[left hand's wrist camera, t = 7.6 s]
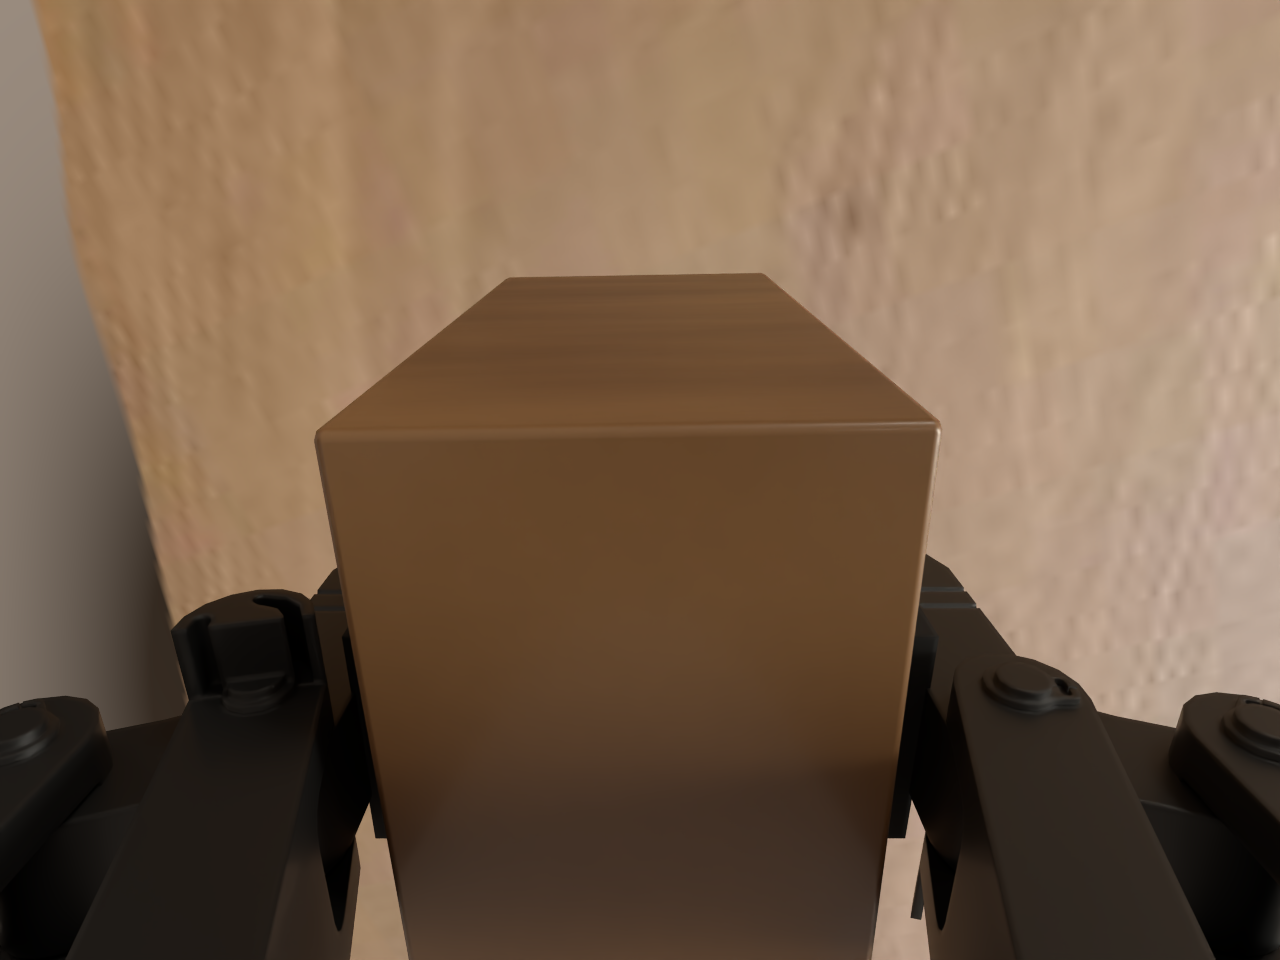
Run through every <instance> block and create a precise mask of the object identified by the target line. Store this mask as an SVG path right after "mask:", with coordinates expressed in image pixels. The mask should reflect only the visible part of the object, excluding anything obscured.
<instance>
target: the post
mask: <svg viewBox="0 0 1280 960" xmlns="http://www.w3.org/2000/svg"><path fill="white" fill-rule="evenodd" d="M941 434H942V428H941V424H940V421H939V420H938V419H936V418H935V417H934V416H933V415H932V414H930V413H929V412H928V411H927V410H926V409H925V408H923V407H922V406H921V405H920V404H919V403H917V402H916V401H915V400H914V399H913V398H911V397H910V396H909V395H908V394H907V393H905V392H904V391H903V390H902V389H901V388H899V387H898V386H897V385H896V384H895V383H893V382H892V381H891V380H890V379H889V378H888V377H886V376H885V375H884V374H883V373H882V372H880V371H879V370H878V369H877V368H876V367H874V366H873V365H872V364H871V363H870V362H868V361H867V360H866V359H865V358H864V357H862V356H861V355H860V354H859V353H858V352H857V351H855V350H854V349H853V348H852V347H851V346H849V345H848V344H847V343H846V342H845V341H843V340H842V339H841V338H840V337H839V336H837V335H836V334H835V333H834V332H833V331H831V330H830V329H829V328H828V327H827V326H826V325H824V324H823V323H822V322H821V321H820V320H818V319H817V318H816V317H815V316H814V315H812V314H811V313H810V312H809V311H808V310H806V309H805V308H804V307H803V306H802V305H800V304H799V303H798V302H797V301H796V300H795V299H793V298H792V297H791V296H790V295H789V294H787V293H786V292H785V291H784V290H783V289H781V288H780V287H779V286H778V285H777V284H775V283H774V282H773V281H772V280H771V279H769V278H768V277H767V276H766V275H764V274H762V273H744V274H687V275H630V276H573V277H517V278H508V279H506V280H504V281H503V282H502V283H501V284H499V285H498V286H497V287H496V288H495V289H493V290H492V291H491V292H490V293H488V294H487V295H486V296H485V297H483V298H482V299H481V300H480V301H478V302H477V303H476V304H475V305H473V306H472V307H471V308H470V309H468V310H467V311H466V312H465V313H463V314H462V315H461V316H460V317H458V318H457V319H456V320H455V321H453V322H452V323H451V324H450V325H448V326H447V327H446V328H445V329H443V330H442V331H441V332H440V333H438V334H437V335H436V336H435V337H433V338H432V339H431V340H430V341H428V342H427V343H426V344H425V345H423V346H422V347H421V348H420V349H418V350H417V351H416V352H415V353H413V354H412V355H411V356H410V357H408V358H407V359H406V360H405V361H403V362H402V363H401V364H400V365H398V366H397V367H396V368H395V369H393V370H392V371H391V372H390V373H388V374H387V375H386V376H385V377H383V378H382V379H381V380H380V381H378V382H377V383H376V384H375V385H373V386H372V387H371V388H370V389H368V390H367V391H366V392H365V393H363V394H362V395H361V396H360V397H358V398H357V399H356V400H355V401H353V402H352V403H351V404H350V405H348V406H347V407H346V408H345V409H343V410H342V411H341V412H340V413H338V414H337V415H336V416H335V417H333V418H332V419H331V420H330V421H328V422H327V423H326V424H325V425H323V426H322V427H321V428H320V429H318V430H317V431H316V435H315V439H314V442H315V448H316V453H317V459H318V464H319V470H320V475H321V481H322V486H323V492H324V497H325V503H326V508H327V514H328V519H329V525H330V530H331V535H332V541H333V546H334V552H335V557H336V563H337V568H338V574H339V579H340V585H341V590H342V596H343V601H344V607H345V612H346V617H347V623H348V628H349V634H350V639H351V645H352V650H353V656H354V661H355V667H356V672H357V678H358V683H359V689H360V694H361V699H362V705H363V710H364V716H365V721H366V727H367V732H368V738H369V743H370V749H371V754H372V760H373V765H374V771H375V776H376V782H377V787H378V792H379V798H380V803H381V809H382V814H383V820H384V825H385V831H386V836H387V842H388V847H389V853H390V858H391V864H392V869H393V874H394V880H395V885H396V891H397V896H398V902H399V907H400V913H401V918H402V924H403V929H404V935H405V940H406V946H407V951H408V956H409V960H871V958H872V951H873V943H874V936H875V928H876V921H877V913H878V906H879V898H880V891H881V883H882V876H883V868H884V861H885V853H886V846H887V838H888V831H889V823H890V816H891V808H892V801H893V794H894V786H895V779H896V771H897V764H898V756H899V749H900V741H901V734H902V726H903V719H904V711H905V704H906V696H907V689H908V681H909V674H910V666H911V659H912V651H913V644H914V636H915V629H916V621H917V614H918V607H919V599H920V592H921V584H922V577H923V569H924V562H925V554H926V547H927V539H928V532H929V524H930V517H931V509H932V502H933V494H934V487H935V479H936V472H937V464H938V457H939V449H940V442H941Z"/></svg>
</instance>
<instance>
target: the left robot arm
mask: <svg viewBox="0 0 1280 960" xmlns="http://www.w3.org/2000/svg"><path fill="white" fill-rule="evenodd" d="M171 634H172V638H173V642H174V646H175V649H176V653H177V657H178V661H179V665H180V668H181V672H182V676H183V680H184V684H185V687H186V691H187V695H188V699H189V701H188V703H187V705H186V708H185V710H184V712H183V714H182V715H181V716H177V717H173V718H169V719H166V720H161V721H156V722H151V723H146V724H141V725H135V726H130V727H125V728H121V729H115V730H110V731H106V730H105V727H104V724H103V721H102V718H101V715H100V712H99V708H98V707H96V706H95V705H94V704H93V703H91V702H90V701H89V700H87V699H83V698H77V697H70V696H60V697H50V698H39V699H33V700H28V701H24V702H23V703H21V704H19V703H16V704H13V705H10V706H7V707H4V708H2V709H0V960H350V954H351V945H352V936H353V928H354V919H355V911H356V902H357V894H358V885H359V877H360V861H359V855H358V849H357V843H356V838H355V835H356V832H357V830H358V828H359V825H360V823H361V821H362V818H363V816H364V813H365V811H366V809H367V806H368V804H369V802H370V808H371V814H372V820H373V826H374V832H375V838H387V836H386V831H385V825H384V820H383V814H382V809H381V803H380V798H379V792H378V787H377V782H376V776H375V771H374V765H373V760H372V754H371V749H370V743H369V738H368V732H367V727H366V721H365V716H364V710H363V705H362V699H361V694H360V689H359V683H358V678H357V672H356V667H355V661H354V656H353V650H352V645H351V639H350V634H349V628H348V623H347V617H346V612H345V607H344V601H343V596H342V590H341V585H340V579H339V574H338V568H336V569H334V570H333V571H332V572H331V573H330V575H329V576H328V577H327V579H326V580H325V581H324V583H323V584H322V585H321V586H320V588H319V589H318V593H317V594H314V596H313V597H312V598H311V600H309V599H308V598H307V597H305V596H304V595H303V594H301V593H297V592H292V591H288V590H283V589H274V590H254V591H249V592H244V593H239V594H233V595H230V596H227V597H224V598H221V599H219V600H216V601H213V602H210V603H207V604H205V605H203V606H202V607H200V608H198V609H196V610H195V611H193V612H191V613H190V614H188V615H186V616H184V617H183V618H182V619H181V620H180V621H179V623H178V624H177V625H176V626H175V627H174V628H173V629H172V630H171ZM911 800H912V801H913V803H914V806H915V808H916V810H917V813H918V815H919V817H920V820H921V822H922V824H923V827H924V829H925V831H926V832H925V838H924V843H923V849H922V854H921V860H920V865H919V871H918V876H917V882H916V887H915V893H914V898H913V905H912V911H911V918H914V919H919V920H921V917H922V912H923V907H924V909H925V917H926V926H927V935H928V943H929V952H930V960H1280V705H1279V704H1277V703H1274V702H1271V701H1267V700H1264V699H1263V700H1260V699H1259V698H1257V697H1252V696H1247V695H1237V694H1227V693H1218V692H1215V693H1209V694H1202V695H1195V696H1194V697H1193V698H1191V699H1190V700H1189V701H1188V702H1186V703H1185V704H1184V705H1183V708H1182V711H1181V714H1180V717H1179V720H1178V724H1177V727H1176V728H1173V727H1168V726H1163V725H1158V724H1153V723H1147V722H1142V721H1137V720H1132V719H1127V718H1122V717H1117V716H1113V715H1109V714H1105V713H1102V712H1098V711H1097V710H1096V708H1095V706H1094V704H1093V702H1092V700H1091V698H1090V697H1089V696H1088V695H1087V693H1086V692H1085V691H1084V690H1083V688H1082V687H1081V686H1080V685H1079V684H1078V683H1077V682H1075V681H1074V680H1073V679H1071V678H1070V677H1068V676H1067V675H1065V674H1064V673H1062V672H1061V671H1059V670H1057V669H1055V668H1053V667H1050V666H1048V665H1046V664H1043V663H1041V662H1038V661H1036V660H1033V659H1029V658H1024V657H1020V656H1016V655H1015V653H1014V652H1013V651H1012V650H1011V648H1010V647H1009V646H1008V644H1007V643H1006V642H1005V641H1004V639H1003V638H1002V637H1001V635H1000V634H999V633H998V631H997V630H996V629H995V628H994V626H993V625H992V624H991V622H990V621H989V620H988V618H987V617H986V616H985V615H984V613H983V612H982V611H981V609H980V608H976V603H975V602H974V600H973V599H972V598H971V596H970V595H969V594H968V593H967V592H964V587H963V586H962V585H961V584H960V582H959V581H958V580H957V578H956V577H955V576H954V574H953V573H952V572H951V571H950V569H949V568H948V567H946V566H944V565H943V564H941V563H940V562H938V561H936V560H935V559H933V558H932V557H930V556H928V555H927V554H925V562H924V569H923V577H922V584H921V592H920V599H919V607H918V614H917V621H916V629H915V636H914V644H913V651H912V659H911V666H910V674H909V681H908V689H907V696H906V704H905V711H904V719H903V726H902V734H901V741H900V749H899V756H898V764H897V771H896V779H895V786H894V794H893V801H892V808H891V816H890V823H889V831H888V838H905V836H906V830H907V824H908V818H909V812H910V806H911Z"/></svg>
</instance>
